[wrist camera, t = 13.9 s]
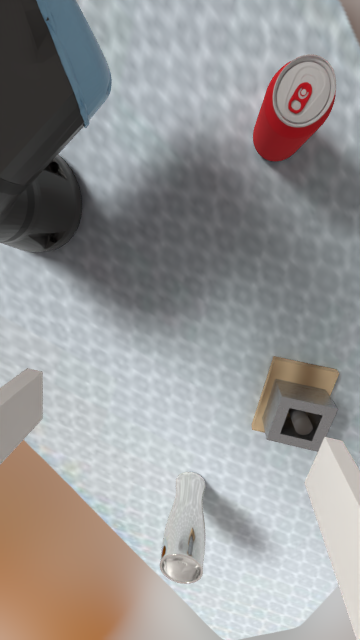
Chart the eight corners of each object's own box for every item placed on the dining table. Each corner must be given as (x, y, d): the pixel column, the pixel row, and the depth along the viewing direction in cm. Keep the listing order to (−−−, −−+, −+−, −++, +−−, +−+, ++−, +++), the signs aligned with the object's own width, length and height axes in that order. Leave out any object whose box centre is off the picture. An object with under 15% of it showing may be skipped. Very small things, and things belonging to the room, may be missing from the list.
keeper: (251, 425, 49) (256, 456, 43) (273, 356, 45) (283, 379, 38) (307, 438, 49) (322, 472, 42) (336, 369, 44) (357, 395, 37)
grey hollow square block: (261, 418, 47) (266, 439, 43) (275, 378, 45) (281, 396, 40) (309, 429, 47) (319, 451, 42) (325, 389, 44) (338, 408, 39)
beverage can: (313, 122, 34) (360, 71, 23) (282, 172, 36) (311, 147, 25) (271, 95, 34) (296, 30, 23) (242, 146, 36) (252, 110, 25)
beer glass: (210, 496, 56) (207, 586, 42) (176, 495, 57) (162, 583, 43) (205, 469, 54) (200, 554, 40) (171, 469, 55) (154, 552, 41)
